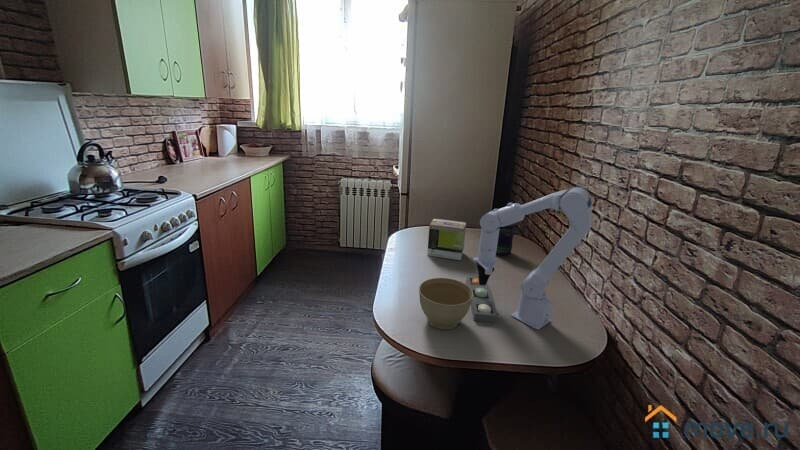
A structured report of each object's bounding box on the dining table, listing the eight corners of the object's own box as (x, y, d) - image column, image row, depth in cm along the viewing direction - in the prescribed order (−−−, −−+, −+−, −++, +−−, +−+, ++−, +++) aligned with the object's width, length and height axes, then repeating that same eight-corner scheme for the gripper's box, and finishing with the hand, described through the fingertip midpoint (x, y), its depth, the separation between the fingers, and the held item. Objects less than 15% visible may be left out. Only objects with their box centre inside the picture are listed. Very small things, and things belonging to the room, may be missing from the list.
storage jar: (513, 257, 161) (518, 226, 156) (491, 256, 161) (496, 224, 156) (507, 248, 171) (512, 219, 166) (486, 247, 171) (491, 217, 166)
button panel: (496, 322, 113) (497, 315, 112) (473, 320, 113) (474, 313, 112) (484, 284, 136) (485, 278, 135) (466, 282, 136) (466, 276, 136)
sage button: (487, 299, 122) (488, 294, 121) (475, 298, 122) (476, 293, 121) (485, 293, 126) (486, 288, 125) (474, 292, 126) (474, 287, 125)
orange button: (483, 288, 131) (483, 283, 130) (471, 287, 131) (472, 283, 130) (481, 283, 134) (482, 278, 134) (470, 282, 135) (471, 277, 134)
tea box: (463, 252, 163) (467, 221, 159) (460, 261, 154) (464, 229, 149) (430, 247, 167) (433, 217, 162) (426, 255, 158) (429, 224, 153)
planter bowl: (419, 303, 120) (421, 274, 117) (468, 310, 118) (472, 281, 115) (413, 332, 105) (416, 300, 102) (469, 340, 103) (474, 308, 100)
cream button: (491, 317, 114) (492, 311, 113) (478, 315, 114) (479, 310, 113) (489, 310, 118) (490, 304, 117) (476, 308, 118) (477, 303, 117)
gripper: (472, 238, 125) (468, 273, 129) (478, 255, 111) (472, 293, 116) (493, 240, 125) (488, 275, 129) (501, 257, 111) (495, 295, 115)
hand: (482, 284), depth 122 cm, fingers closed
